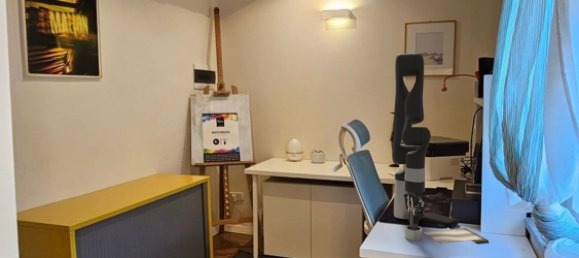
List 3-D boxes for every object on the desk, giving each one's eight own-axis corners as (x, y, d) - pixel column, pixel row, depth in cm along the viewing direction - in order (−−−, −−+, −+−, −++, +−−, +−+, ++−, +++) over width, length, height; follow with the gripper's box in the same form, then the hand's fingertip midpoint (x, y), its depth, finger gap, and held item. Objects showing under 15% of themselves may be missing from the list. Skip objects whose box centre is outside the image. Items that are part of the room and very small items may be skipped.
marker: (408, 236, 179) (409, 206, 178) (414, 235, 180) (415, 206, 179) (411, 238, 176) (412, 208, 175) (418, 238, 177) (419, 207, 176)
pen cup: (402, 238, 181) (402, 226, 180) (416, 237, 182) (416, 224, 181) (409, 243, 175) (410, 231, 174) (424, 242, 176) (424, 229, 175)
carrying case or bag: (416, 223, 200) (447, 231, 190) (416, 216, 200) (448, 224, 189) (429, 218, 208) (460, 225, 197) (429, 211, 207) (460, 218, 196)
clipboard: (416, 233, 186) (416, 231, 186) (465, 229, 191) (465, 227, 190) (436, 247, 171) (436, 244, 171) (488, 242, 176) (488, 239, 176)
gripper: (397, 175, 181) (396, 218, 183) (414, 183, 168) (413, 229, 170) (414, 174, 183) (413, 216, 185) (433, 182, 170) (432, 227, 172)
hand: (413, 222), depth 177 cm, fingers closed on marker, 2 cm apart
